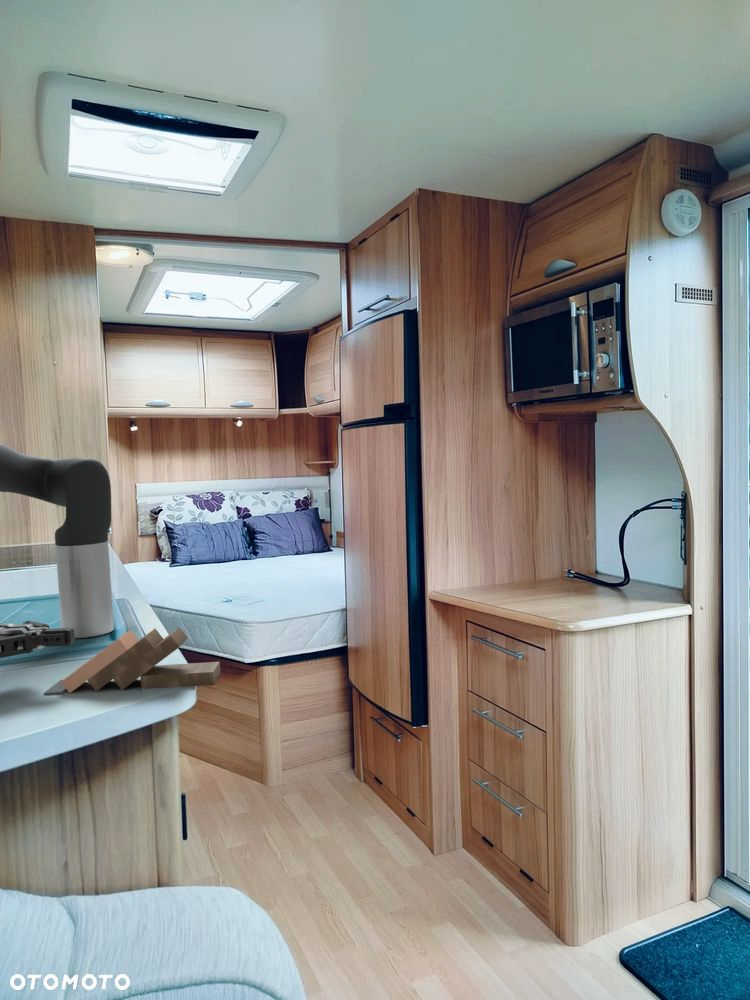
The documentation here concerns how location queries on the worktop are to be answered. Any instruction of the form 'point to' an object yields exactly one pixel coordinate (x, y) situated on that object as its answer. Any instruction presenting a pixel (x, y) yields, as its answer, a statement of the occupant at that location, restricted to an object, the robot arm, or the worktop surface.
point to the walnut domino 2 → (151, 658)
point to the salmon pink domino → (99, 661)
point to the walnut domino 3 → (181, 675)
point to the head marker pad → (56, 689)
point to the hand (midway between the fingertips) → (72, 636)
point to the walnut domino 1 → (125, 659)
